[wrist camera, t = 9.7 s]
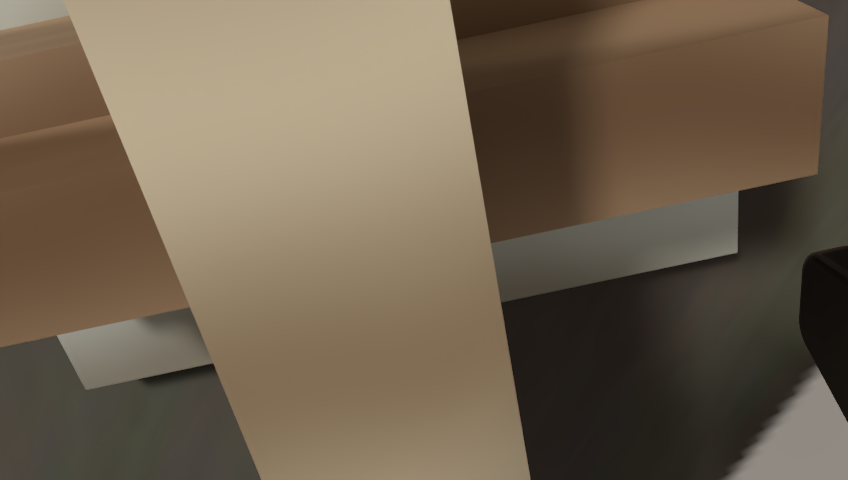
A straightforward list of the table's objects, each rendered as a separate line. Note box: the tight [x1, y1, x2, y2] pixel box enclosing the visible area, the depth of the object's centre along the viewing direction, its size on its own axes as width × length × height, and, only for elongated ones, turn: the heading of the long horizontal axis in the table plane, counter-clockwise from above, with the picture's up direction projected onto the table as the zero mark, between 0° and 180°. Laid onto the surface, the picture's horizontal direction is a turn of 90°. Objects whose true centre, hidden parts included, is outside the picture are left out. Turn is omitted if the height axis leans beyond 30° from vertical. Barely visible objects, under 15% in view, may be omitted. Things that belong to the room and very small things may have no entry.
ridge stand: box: [0, 0, 829, 390], centre depth 15 cm, size 12×16×6 cm
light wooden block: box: [63, 0, 531, 480], centre depth 10 cm, size 16×3×4 cm, turn 11°
